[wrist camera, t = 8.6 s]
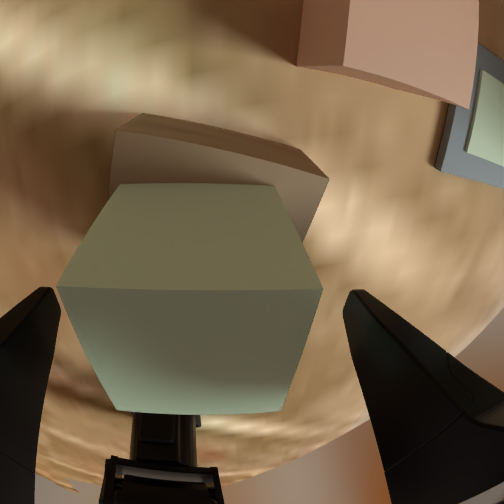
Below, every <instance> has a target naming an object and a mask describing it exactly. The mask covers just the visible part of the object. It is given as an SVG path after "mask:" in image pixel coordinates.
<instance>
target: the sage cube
mask: <svg viewBox="0 0 504 504" xmlns="http://www.w3.org/2000/svg"><path fill="white" fill-rule="evenodd" d="M56 286H57V289H58V292H59V294H60V297H61V300H62V302H63V305H64V307H65V310H66V312H67V314H68V317H69V319H70V321H71V324H72V326H73V328H74V331H75V333H76V335H77V337H78V339H79V341H80V344H81V346H82V348H83V350H84V352H85V354H86V356H87V358H88V360H89V362H90V364H91V366H92V368H93V369H94V371H95V373H96V375H97V377H98V379H99V381H100V382H101V384H102V386H103V388H104V389H105V391H106V393H107V395H108V396H109V398H110V400H111V401H112V403H113V405H114V406H115V408H116V410H121V411H131V412H143V413H158V414H182V415H222V414H247V413H262V412H274V411H281V408H282V406H283V403H284V401H285V398H286V395H287V393H288V390H289V388H290V385H291V382H292V380H293V377H294V374H295V372H296V369H297V366H298V363H299V360H300V358H301V355H302V352H303V349H304V346H305V343H306V340H307V337H308V335H309V332H310V329H311V326H312V322H313V319H314V316H315V313H316V310H317V307H318V304H319V301H320V297H321V294H322V291H323V287H322V285H321V283H320V280H319V278H318V276H317V274H316V272H315V269H314V267H313V265H312V263H311V261H310V258H309V256H308V254H307V252H306V250H305V248H304V245H303V243H302V241H301V239H300V237H299V235H298V233H297V231H296V228H295V226H294V224H293V222H292V220H291V218H290V216H289V214H288V212H287V210H286V208H285V206H284V204H283V202H282V200H281V198H280V196H279V194H278V191H277V189H276V187H275V186H270V185H247V184H212V183H145V184H120V185H119V186H118V188H117V189H116V190H115V192H114V193H113V195H112V196H111V197H110V199H109V200H108V202H107V203H106V205H105V206H104V208H103V209H102V210H101V212H100V213H99V215H98V216H97V218H96V219H95V221H94V223H93V224H92V226H91V227H90V229H89V230H88V232H87V233H86V235H85V237H84V238H83V240H82V242H81V243H80V245H79V246H78V248H77V250H76V251H75V253H74V255H73V257H72V258H71V260H70V262H69V264H68V265H67V267H66V269H65V271H64V272H63V274H62V276H61V278H60V280H59V282H58V283H57V285H56Z"/></svg>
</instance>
